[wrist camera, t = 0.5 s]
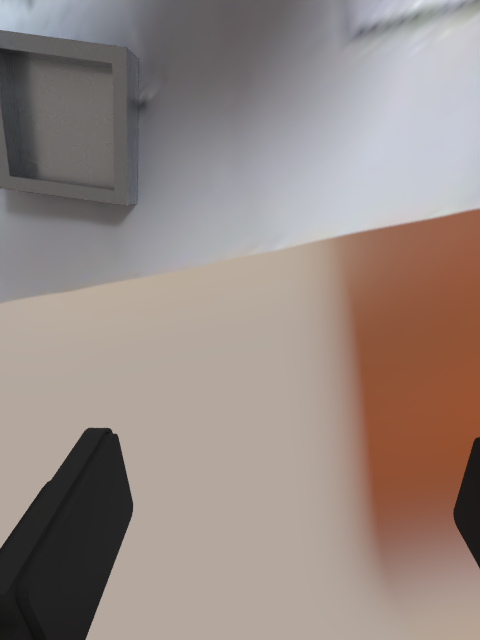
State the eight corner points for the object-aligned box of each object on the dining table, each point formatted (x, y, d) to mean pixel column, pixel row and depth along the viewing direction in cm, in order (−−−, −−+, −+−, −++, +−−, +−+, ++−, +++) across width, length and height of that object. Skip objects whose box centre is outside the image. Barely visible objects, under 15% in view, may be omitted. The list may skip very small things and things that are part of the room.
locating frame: (1, 39, 31) (-24, 26, 28) (138, 58, 31) (126, 47, 28) (19, 186, 36) (-1, 187, 33) (137, 203, 36) (127, 205, 33)
